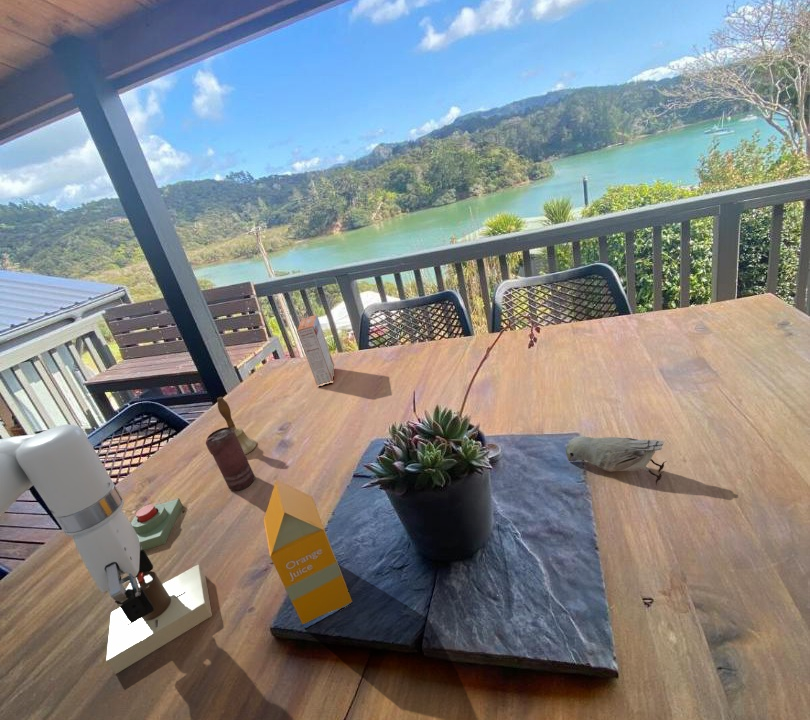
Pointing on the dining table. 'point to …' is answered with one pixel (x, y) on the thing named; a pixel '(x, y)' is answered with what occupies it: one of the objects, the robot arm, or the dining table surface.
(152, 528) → the button block
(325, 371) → the cracker box
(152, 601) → the knob
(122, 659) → the panel
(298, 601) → the orange juice
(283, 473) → the dining table surface
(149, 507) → the button
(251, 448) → the hand bell
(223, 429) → the can
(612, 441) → the decorative bird
